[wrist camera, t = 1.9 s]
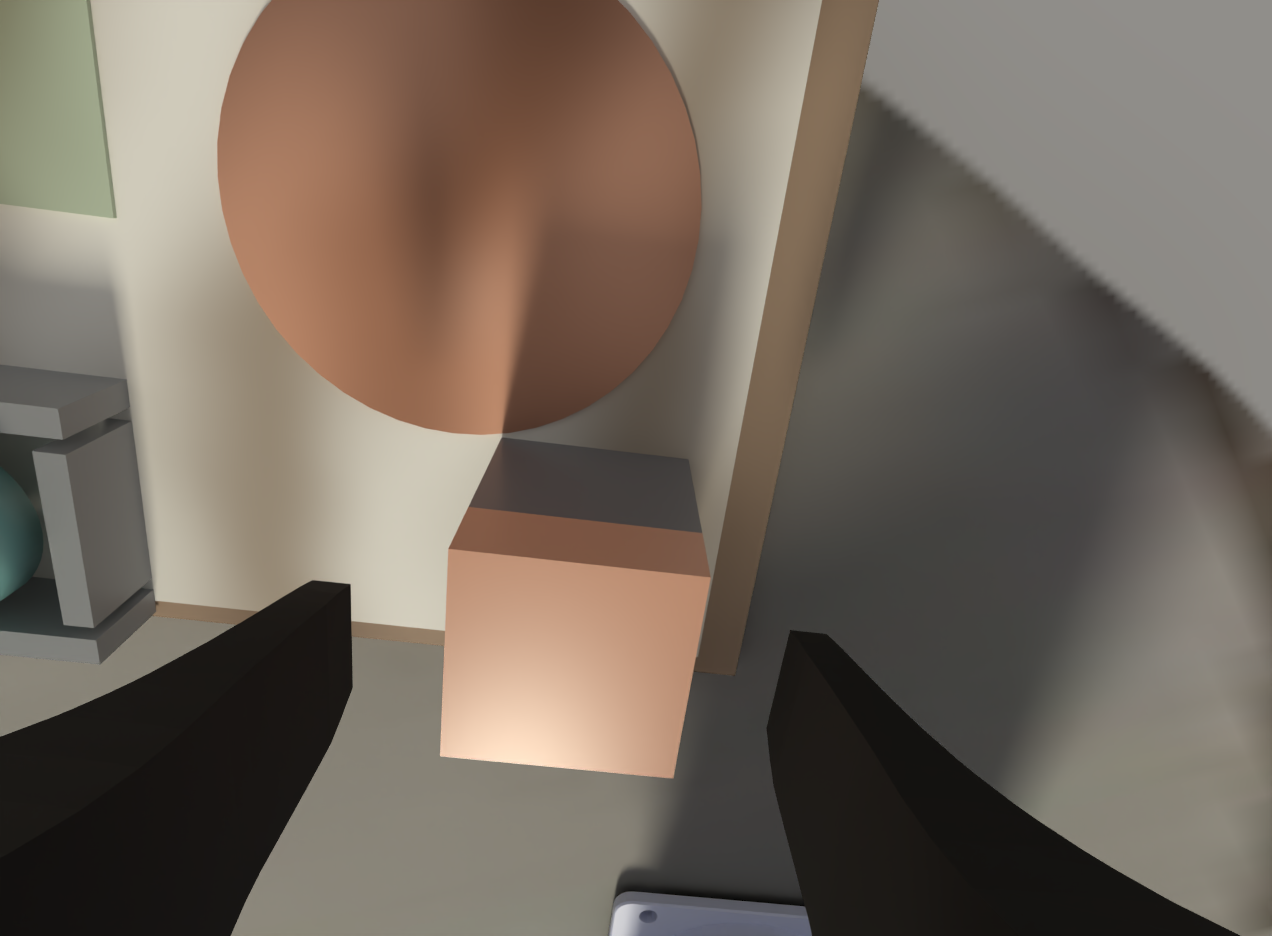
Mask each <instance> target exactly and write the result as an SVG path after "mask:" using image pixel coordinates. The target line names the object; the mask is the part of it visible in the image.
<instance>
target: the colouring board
mask: <svg viewBox="0 0 1272 936" xmlns="http://www.w3.org/2000/svg"><path fill="white" fill-rule="evenodd" d="M878 2H879V0H0V365H8V366H17V367H25V368H34V369H42V370H51V371H59V372H68V373H76V374H85V375H93V376H101V377H110V378H118V379H127V386H128V394H129V401H130V408H128V409H126V410H124V411H122V412H119V413H117V414H115V415H113V416H111V417H109V418H111V419H120V420H129V421H132V425H133V433H134V441H135V448H136V456H137V464H138V472H139V480H140V488H141V496H142V503H143V511H144V519H145V527H146V535H147V543H148V550H149V558H150V566H151V574H152V579H150V580H149V581H148V582H147V583H146V584H145V585H143V586H142V587H141V588H144V589H153V590H154V597H155V605H156V612H155V613H154V614H153V615H152V616H159V617H169V618H178V619H188V620H198V621H207V622H217V623H227V624H239V623H241V622H242V621H244V620H246V619H247V618H249V617H251V616H252V615H254V614H256V613H257V612H259V611H261V610H262V609H264V608H265V607H267V606H269V605H270V604H272V603H274V602H275V601H277V600H279V599H280V598H282V597H284V596H285V595H287V594H288V593H290V592H292V591H294V590H295V589H297V588H299V587H300V586H302V585H304V584H306V583H308V582H310V581H312V580H317V581H327V582H336V583H346V584H351V630H352V636H353V637H363V638H373V639H382V640H392V641H402V642H411V643H421V644H431V645H441V646H444V645H445V620H446V594H447V568H448V548H449V546H450V544H451V542H452V540H453V538H454V536H455V534H456V532H457V530H458V527H459V525H460V523H461V521H462V519H463V517H464V515H465V513H466V511H467V509H468V507H469V504H470V502H471V500H472V498H473V496H474V494H475V492H476V490H477V488H478V486H479V484H480V482H481V479H482V477H483V475H484V473H485V471H486V469H487V467H488V465H489V463H490V461H491V459H492V456H493V454H494V452H495V450H496V448H497V446H498V444H499V442H500V440H501V438H502V437H503V438H512V439H520V440H529V441H537V442H546V443H554V444H563V445H572V446H580V447H589V448H597V449H606V450H614V451H623V452H631V453H640V454H648V455H657V456H665V457H674V458H682V459H688V460H689V465H690V470H691V475H692V481H693V486H694V491H695V497H696V502H697V507H698V512H699V518H700V523H701V528H702V534H703V539H704V544H705V549H706V555H707V560H708V565H709V571H710V576H711V579H710V585H709V590H708V595H707V601H706V606H705V611H704V617H703V622H702V627H701V633H700V638H699V643H698V649H697V654H696V659H695V665H694V670H693V672H703V673H712V674H722V675H732V676H735V673H736V669H737V664H738V659H739V655H740V650H741V645H742V640H743V636H744V631H745V626H746V622H747V617H748V612H749V608H750V603H751V598H752V594H753V589H754V584H755V579H756V575H757V570H758V565H759V561H760V556H761V551H762V547H763V542H764V537H765V533H766V528H767V523H768V518H769V514H770V509H771V504H772V500H773V495H774V490H775V486H776V481H777V476H778V472H779V467H780V462H781V457H782V453H783V448H784V443H785V439H786V434H787V429H788V425H789V420H790V415H791V411H792V406H793V401H794V396H795V392H796V387H797V382H798V378H799V373H800V368H801V364H802V359H803V354H804V350H805V345H806V340H807V335H808V331H809V326H810V321H811V317H812V312H813V307H814V303H815V298H816V293H817V289H818V284H819V279H820V274H821V270H822V265H823V260H824V256H825V251H826V246H827V242H828V237H829V232H830V228H831V223H832V218H833V213H834V209H835V204H836V199H837V195H838V190H839V185H840V181H841V176H842V171H843V167H844V162H845V157H846V152H847V148H848V143H849V138H850V134H851V129H852V124H853V120H854V115H855V110H856V106H857V101H858V96H859V91H860V87H861V82H862V77H863V72H864V68H865V63H866V58H867V54H868V49H869V44H870V39H871V35H872V30H873V26H874V21H875V16H876V12H877V7H878ZM54 440H57V439H51V438H43V437H34V436H25V435H16V434H7V433H0V467H2V468H3V469H4V470H5V471H6V472H7V473H8V474H9V475H10V476H11V477H13V479H14V480H15V481H16V482H17V483H18V484H19V485H20V487H21V488H22V489H23V490H24V492H25V493H26V495H27V496H28V497H29V499H30V501H31V503H32V504H33V506H34V508H35V510H36V513H37V515H38V518H39V520H40V524H41V528H42V533H43V553H42V557H41V561H40V564H39V566H38V568H37V570H36V572H35V573H34V575H33V576H32V577H39V578H49V579H55V575H54V569H53V564H52V558H51V553H50V547H49V542H48V536H47V531H46V525H45V520H44V514H43V509H42V503H41V498H40V492H39V487H38V481H37V476H36V470H35V465H34V459H33V454H32V451H33V450H36V449H38V448H40V447H42V446H44V445H46V444H48V443H50V442H52V441H54Z"/></svg>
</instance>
